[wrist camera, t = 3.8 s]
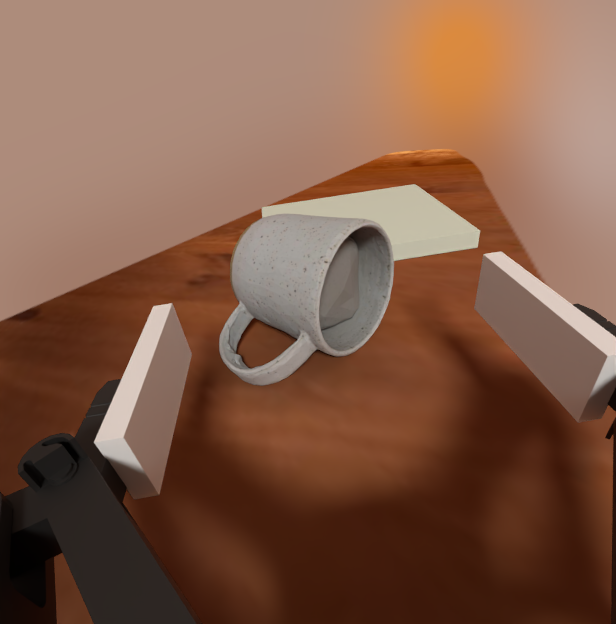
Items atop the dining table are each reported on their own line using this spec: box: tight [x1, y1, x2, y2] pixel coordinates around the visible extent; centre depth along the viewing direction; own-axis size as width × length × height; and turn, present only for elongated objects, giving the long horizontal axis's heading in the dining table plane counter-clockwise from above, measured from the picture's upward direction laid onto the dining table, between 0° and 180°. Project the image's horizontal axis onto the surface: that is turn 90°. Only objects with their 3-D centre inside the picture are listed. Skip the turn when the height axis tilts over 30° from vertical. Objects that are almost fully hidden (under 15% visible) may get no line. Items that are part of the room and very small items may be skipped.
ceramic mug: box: [219, 214, 394, 385], centre depth 22 cm, size 11×8×8 cm
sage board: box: [262, 184, 480, 261], centre depth 37 cm, size 18×15×2 cm
